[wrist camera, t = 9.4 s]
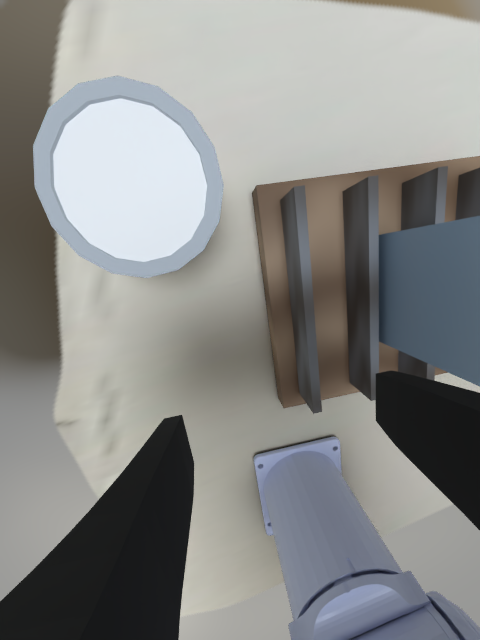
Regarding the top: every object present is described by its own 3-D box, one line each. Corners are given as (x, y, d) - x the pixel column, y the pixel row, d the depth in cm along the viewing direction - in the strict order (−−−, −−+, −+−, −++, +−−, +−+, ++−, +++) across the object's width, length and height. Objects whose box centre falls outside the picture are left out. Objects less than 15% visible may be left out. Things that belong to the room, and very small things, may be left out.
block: (391, 328, 17) (534, 377, 10) (362, 334, 17) (484, 388, 10) (392, 233, 16) (567, 200, 8) (360, 238, 16) (507, 210, 8)
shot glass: (157, 137, 14) (108, 18, 7) (238, 219, 16) (259, 183, 9) (90, 223, 15) (-13, 186, 8) (175, 293, 16) (150, 312, 10)
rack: (447, 361, 21) (501, 383, 17) (278, 397, 19) (294, 430, 16) (462, 164, 17) (537, 134, 13) (252, 193, 15) (265, 168, 12)
